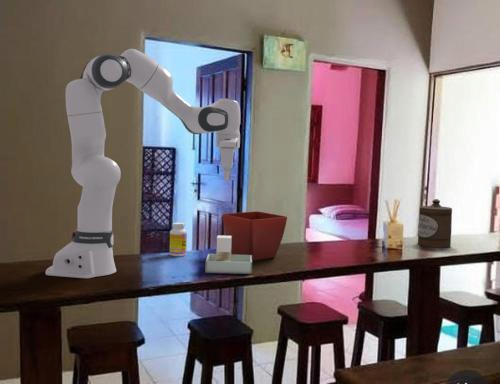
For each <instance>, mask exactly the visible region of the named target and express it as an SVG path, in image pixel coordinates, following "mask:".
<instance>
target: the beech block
mask: <svg viewBox="0 0 500 384" xmlns="http://www.w3.org/2000/svg"><path fill="white" fill-rule="evenodd" d="M215 254H216V261H227V262H231V254H232V253H231V252H217V250H216V253H215Z"/></svg>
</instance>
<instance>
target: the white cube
mask: <svg viewBox="0 0 500 384" xmlns="http://www.w3.org/2000/svg"><path fill="white" fill-rule="evenodd" d="M231 237H232V236H226V235H218V234H217V236H216V251H217V252H231Z"/></svg>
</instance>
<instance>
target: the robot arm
mask: <svg viewBox="0 0 500 384" xmlns="http://www.w3.org/2000/svg"><path fill="white" fill-rule="evenodd" d="M124 82H127V83H130V84H132V85H133V86H134V87H136V88H137V89H138V90H139V91H141V92H143V93H144V94H145V95H147V96H148V97H150V98H152V99H153V100H155V101H156V102H158V103H160V104H161V105H162V106H163V107H165V108H166V109H167V110H169V112H171V113H172V114H173V115H174V116H175V117H177V118H178V119H179V120H180V122H181V123H182V125H183V126H184V128H185V129H186V130H187V132H189V133H190V134H193V135H201V134H210V133H216V134H215V135H216V138H215V139H216V140H215V147H216V148H219V154H220V156H219V157H220V165H221V168H222V169H223V181H227V182H228V181H230V179H231V169H232V168H233V167H234V166H233V165H234V154H235V153H237V149H240V146H241V145H240V144H241V133H240V125H241V107H240V103H239V102H238V101H237V100H235V99H232V98H227V97H222V98H219V99H218V100H217V101H215V102H213V103H210V104H208V105H205V106H201V107H197V106H193V105H191V104H189V103H188V102H187V101H185V99H183V98H182V97H181V96H180V95H178V94H177V93H176V92H175V90H174V89H173V87H174V85H173V84H174V80H173V77H172V75H171V73H170V72H169V71H168V70H167V69H166V68H164V66H163V65H162V64H160V63H158V61H156V60H155V59H153V58H151V57H150V56H149V55H147V54H145V53H144V52H142V51H139V50H138V49H136V48H129V49H127V50H125V51H124V52H122V53H121V54H120V55H116V54H107V53H106V54H101V55H97V56H95V57H93V58H92V59H90V60H89V61H88V62H87V63H86V65H84V67H83V71H82V73H81V76H80V78H77V79H74V80H72V81H70V82H69V83H67V85H66V87H65V107H66V109H65V110H66V115H67V121H68V122H67V123H68V127H69V131H70V132H69V133H70V138H71V168H70V169H71V173H70V174H71V176H72V178H73V179H74V181H75V182H76V183H77V184H78V185H80V186H81V187H82V189H81V195H80V196H81V197H80V200H79V204H78V205H77V229H75V230H73V232H71V233H70V235H69V236H70V238H71V242H69V243H68V244H66V245H65V246H64V247H62V248H61V249H60V250H58V251H57V252H56V253H55V254H54V258H53V261H52V265H51V266H49V267H48V268H46V270H45V275H46V276H52V277H53V276H54V277H62V278H63V277H65V278H75V279H76V278H77V279H91V278H95V277H103V276H108V275H113V274H114V273H116V272H117V268H116V264H115V261H114V260H115V259H114V253H113V246H114V229H112V228H113V204H114V201H115V196H116V195H115V194H116V190H117V186H118V184H119V182H120V180H121V176H122V174H121V173H122V172H121V168H120V167H119V165H118V164H117V162H115V161H114V160H113V159H112V158H109V157H107V156H105V142H106V139H107V131H106V125H105V120H104V114H103V109H102V103H101V102H102V99H101V98H102V94H103V92H104V91H110V90H114V89H116V88H117V87H120V86H121V85H122V84H123V83H124Z"/></svg>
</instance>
